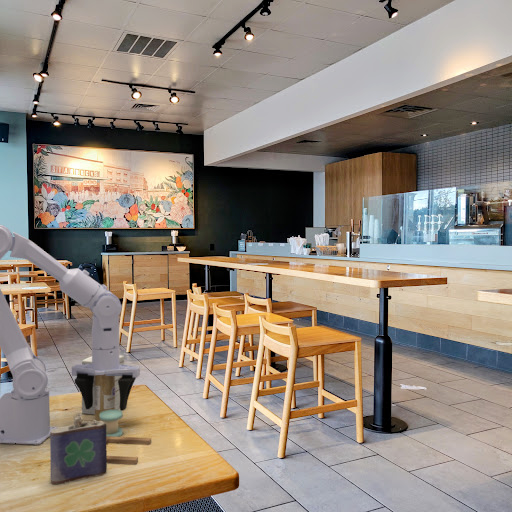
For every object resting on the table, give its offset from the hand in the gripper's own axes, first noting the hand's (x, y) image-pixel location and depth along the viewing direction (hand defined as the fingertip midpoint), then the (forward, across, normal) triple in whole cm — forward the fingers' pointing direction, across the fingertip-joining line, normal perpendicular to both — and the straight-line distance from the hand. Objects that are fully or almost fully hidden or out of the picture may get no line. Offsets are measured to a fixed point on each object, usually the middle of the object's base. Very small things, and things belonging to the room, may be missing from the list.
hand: (106, 408), depth 108 cm
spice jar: (+4, -1, 0) cm, 4 cm away
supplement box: (+4, -4, +8) cm, 10 cm away
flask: (+4, +4, -22) cm, 23 cm away
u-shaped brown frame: (+4, +8, -12) cm, 15 cm away
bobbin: (+4, +3, -5) cm, 7 cm away
